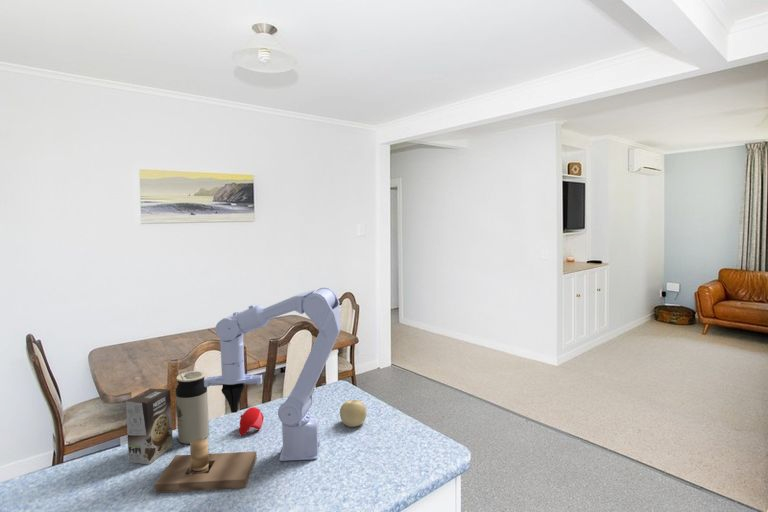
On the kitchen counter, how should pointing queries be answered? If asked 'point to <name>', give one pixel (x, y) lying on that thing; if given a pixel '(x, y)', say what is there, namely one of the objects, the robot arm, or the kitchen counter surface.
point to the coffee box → (149, 425)
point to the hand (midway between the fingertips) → (234, 411)
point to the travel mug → (192, 407)
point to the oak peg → (199, 456)
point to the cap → (250, 420)
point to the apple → (353, 413)
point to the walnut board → (222, 475)
